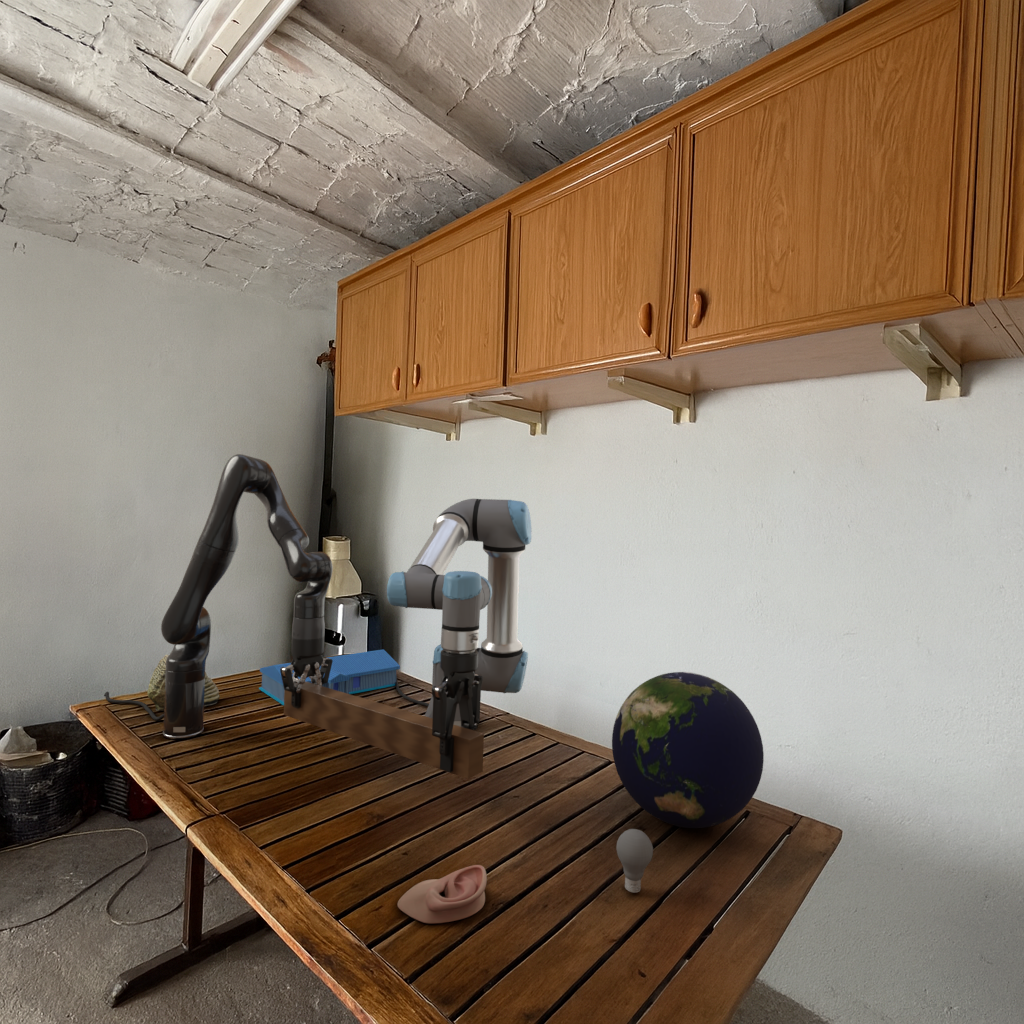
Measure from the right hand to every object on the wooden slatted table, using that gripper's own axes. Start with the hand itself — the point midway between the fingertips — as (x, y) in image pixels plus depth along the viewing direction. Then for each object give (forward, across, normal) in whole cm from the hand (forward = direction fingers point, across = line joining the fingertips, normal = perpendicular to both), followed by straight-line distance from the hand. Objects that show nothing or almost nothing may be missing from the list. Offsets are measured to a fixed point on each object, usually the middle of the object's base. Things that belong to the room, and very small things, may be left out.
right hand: (455, 765), depth 127 cm
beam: (+1, 0, +24) cm, 24 cm away
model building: (+10, +40, +85) cm, 94 cm away
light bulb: (+11, +1, -38) cm, 40 cm away
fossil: (+10, 0, +102) cm, 103 cm away
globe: (+11, +30, -36) cm, 48 cm away
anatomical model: (+11, -21, -16) cm, 28 cm away
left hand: (-2, 0, +47) cm, 47 cm away
